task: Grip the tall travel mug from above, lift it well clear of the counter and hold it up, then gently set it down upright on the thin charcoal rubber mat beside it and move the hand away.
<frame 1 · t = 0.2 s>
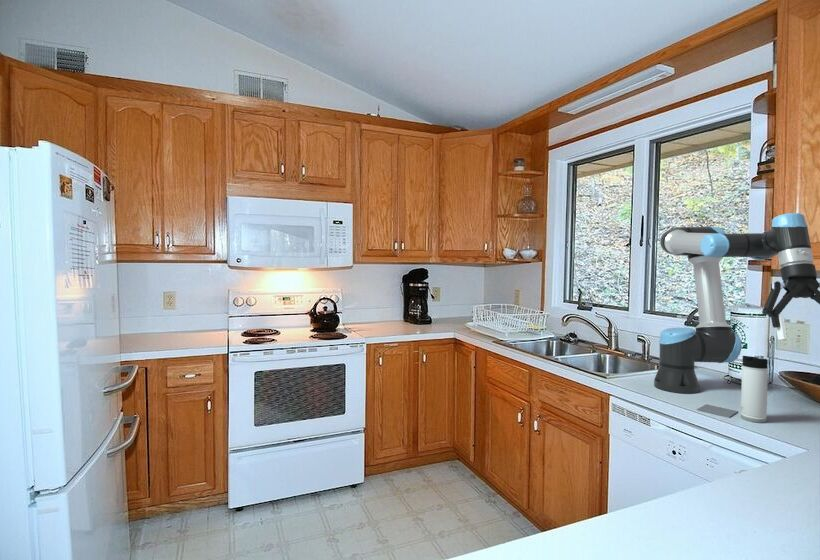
hand: (811, 339, 120), 27 cm above the counter, tool tilted 15°, fingers open, 13 cm apart
travel mug: (753, 420, 135), on the counter
rubber mat: (717, 411, 142), on the counter
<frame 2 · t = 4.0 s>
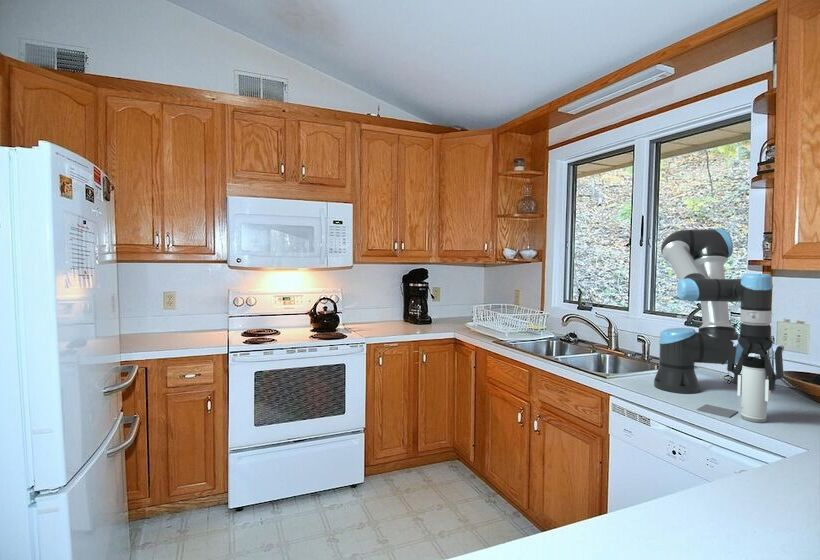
hand: (753, 397, 134), 7 cm above the counter, tool pointing down, fingers closed on travel mug, 6 cm apart
travel mug: (753, 420, 135), on the counter, touching gripper
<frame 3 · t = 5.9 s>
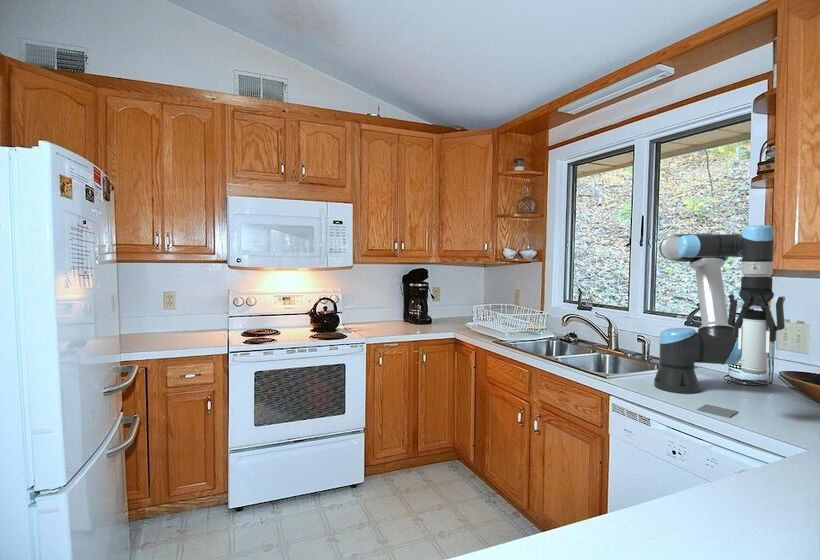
hand: (754, 350, 134), 22 cm above the counter, tool pointing down, fingers closed on travel mug, 6 cm apart
travel mug: (753, 372, 134), point 15 cm above the counter, touching gripper
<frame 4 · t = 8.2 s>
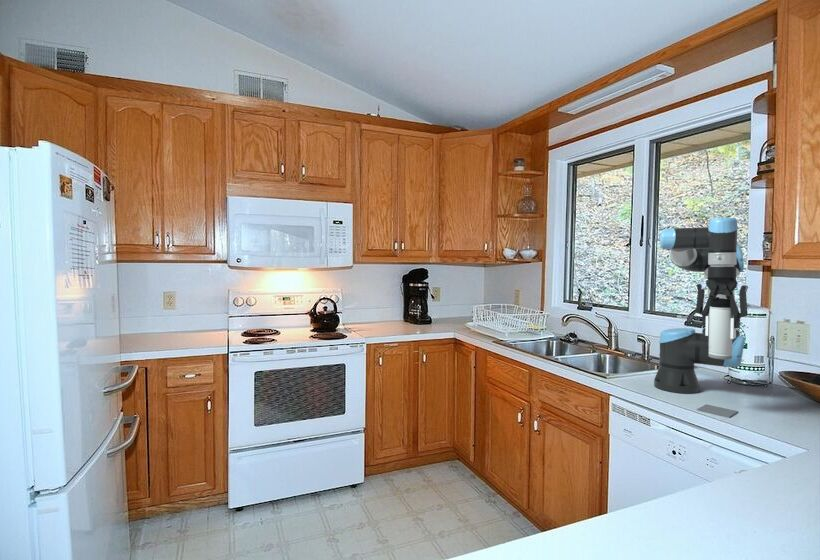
hand: (720, 336, 141), 25 cm above the counter, tool pointing down, fingers closed on travel mug, 6 cm apart
travel mug: (719, 358, 142), point 18 cm above the counter, touching gripper
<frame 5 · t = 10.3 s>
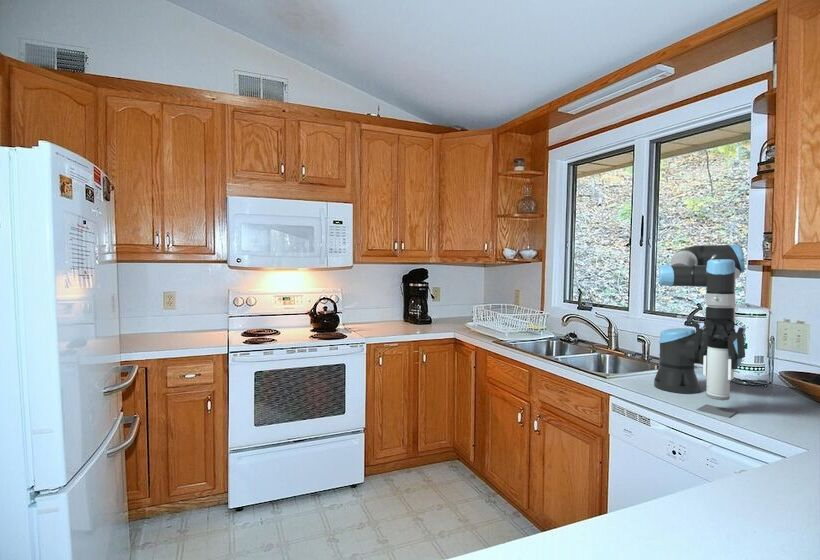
hand: (718, 376, 142), 11 cm above the counter, tool pointing down, fingers closed on travel mug, 6 cm apart
travel mug: (717, 398, 142), point 4 cm above the counter, touching gripper
when the fingers open (8 cm above the counter, at t = 12.4 s): travel mug stays where it is, resting on rubber mat.
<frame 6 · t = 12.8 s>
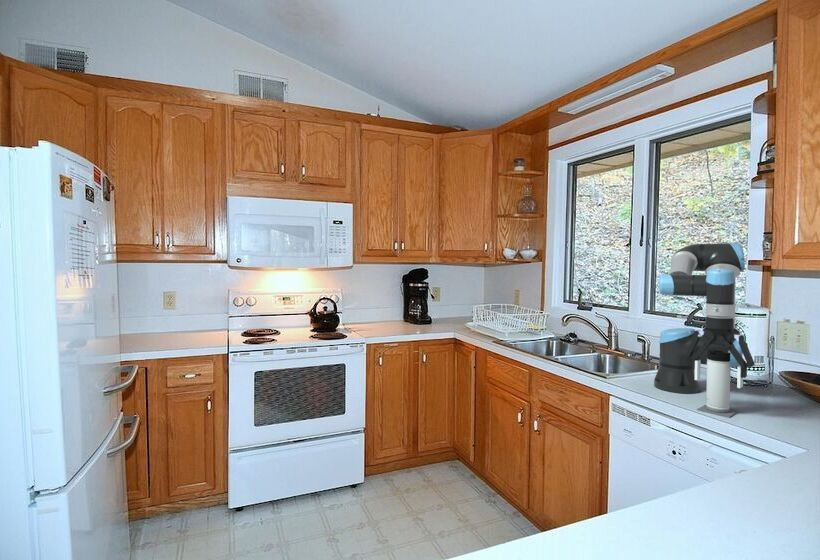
hand: (717, 383, 142), 9 cm above the counter, tool pointing down, fingers open, 11 cm apart
travel mug: (717, 410, 142), resting on rubber mat
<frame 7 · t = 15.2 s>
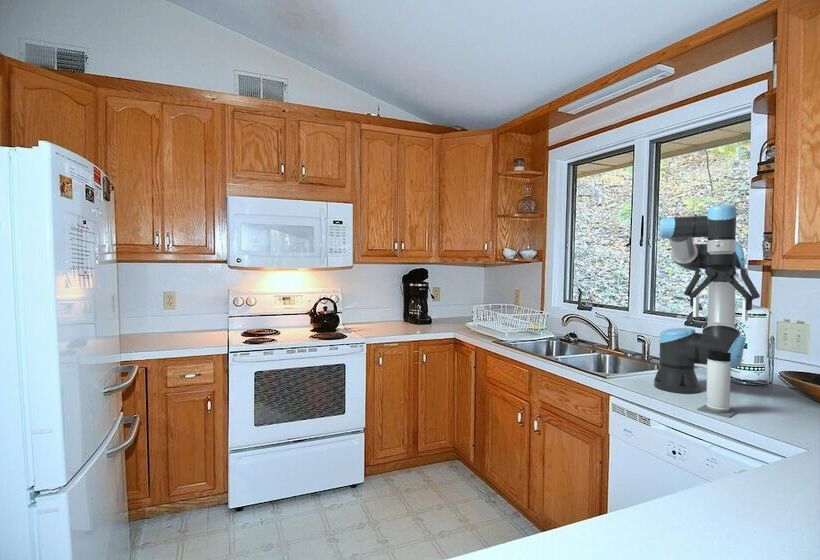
hand: (719, 318, 141), 31 cm above the counter, tool pointing down, fingers open, 13 cm apart
nothing on the counter moved.
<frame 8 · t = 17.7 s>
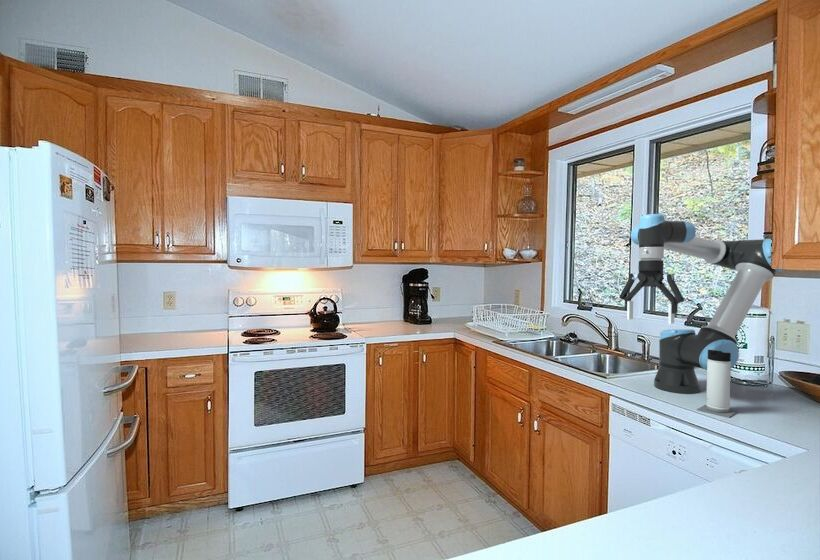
hand: (649, 321, 149), 29 cm above the counter, tool pointing down, fingers open, 13 cm apart
nothing on the counter moved.
at the end: travel mug inside the target area on the rubber mat (0.1 cm from its centre), point 0.2 cm above the rubber mat's base; travel mug tilted 0°; the gripper is holding nothing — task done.
